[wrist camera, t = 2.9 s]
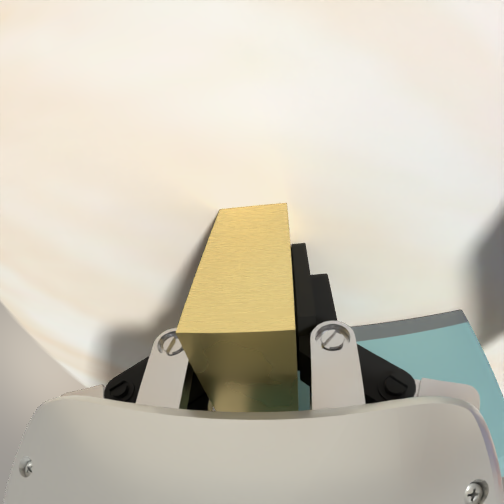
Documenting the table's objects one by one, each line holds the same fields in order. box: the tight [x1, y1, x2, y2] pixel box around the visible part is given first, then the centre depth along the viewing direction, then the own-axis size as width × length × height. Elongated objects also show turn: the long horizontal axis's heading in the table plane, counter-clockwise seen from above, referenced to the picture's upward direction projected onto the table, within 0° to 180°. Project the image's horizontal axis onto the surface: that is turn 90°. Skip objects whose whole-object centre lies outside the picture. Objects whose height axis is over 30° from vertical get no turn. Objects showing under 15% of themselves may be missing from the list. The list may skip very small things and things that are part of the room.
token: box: [176, 203, 299, 412], centre depth 10 cm, size 6×2×6 cm, turn 8°
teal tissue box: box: [298, 310, 504, 477], centre depth 14 cm, size 16×12×10 cm
